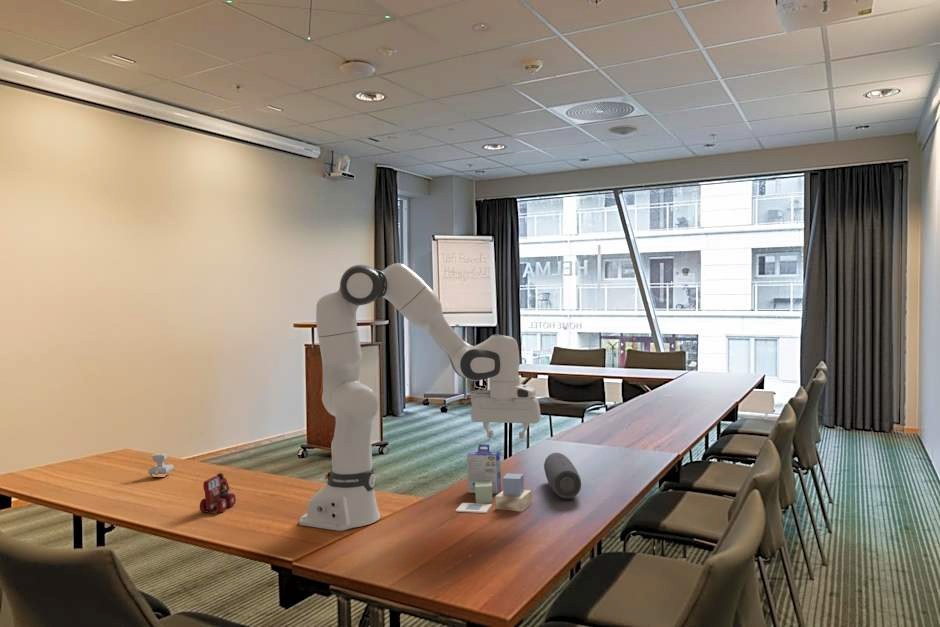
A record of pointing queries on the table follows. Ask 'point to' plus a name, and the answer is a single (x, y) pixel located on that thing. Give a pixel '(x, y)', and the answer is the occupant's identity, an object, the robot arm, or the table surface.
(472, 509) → the swatch card
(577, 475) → the bluetooth speaker
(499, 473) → the ink cartridge box
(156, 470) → the stamp
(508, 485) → the blue cube
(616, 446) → the table surface
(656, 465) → the table surface
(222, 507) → the toy fire truck
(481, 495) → the green cube
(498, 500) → the birch base
